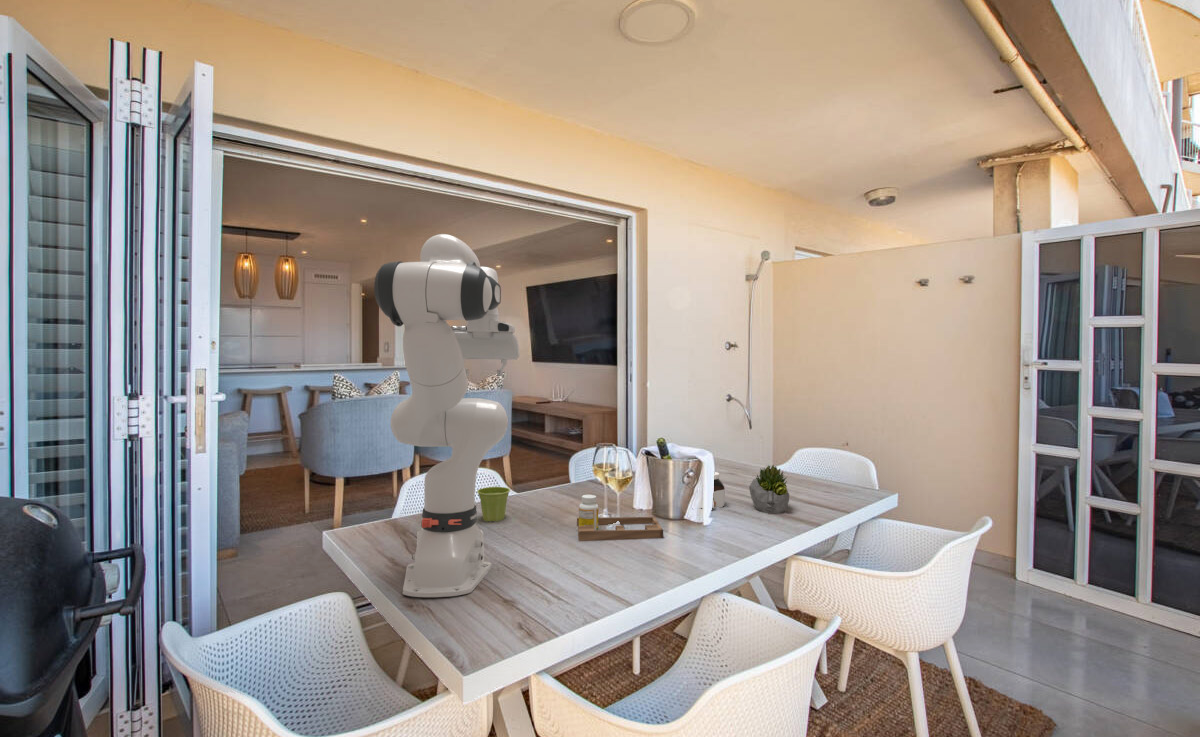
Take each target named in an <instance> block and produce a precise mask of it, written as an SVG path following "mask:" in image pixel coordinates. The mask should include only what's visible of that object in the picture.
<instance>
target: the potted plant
mask: <svg viewBox="0 0 1200 737" xmlns="http://www.w3.org/2000/svg"><path fill="white" fill-rule="evenodd" d="M787 478H788V476H786V477H785V476H784V471H783V470H782V471H781V468H778V467H777V466H776V465H775V466H774V464H773V465H767V466H766V467H763V468H762V467H760V469H759V475H758V474H756V476H755V478H753V479H752V481H751V483H750V485H749V487H748V489H749V495H750V497H751V501H752V503H753V505H754V508H755V509H756V510H757V511H759V512H761V513H764V514H771V515H772V514H773V515H774V514H775V515H776V514H779V515H780V514H782V513H784V512H785V510H786V509H787V507H788V505H789V502H790V492H789V491H788V488H787V485H786V484H787V483H788V480H786V479H787Z"/></svg>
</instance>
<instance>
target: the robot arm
mask: <svg viewBox="0 0 1200 737" xmlns="http://www.w3.org/2000/svg"><path fill="white" fill-rule="evenodd" d="M419 255H420V258H419V259H420V261H408V262H407V261H405V262H403V261H402V260H397V261H391V262H390V261H389V262H386V263H384V264H382V265H381V266H380V267H379V269H378V270H377V273H376V274H375V278H374V284H373V285H374V288H373V289H374V298H375V302H376V303H377V305H378V307H379V309H380V310H381V311H382V313H383V314H384V315H385V316H386V317H387V318H389V320H390V321H391V323H392V324H393V325H395V326H396V327H402V326H404V332H403V337H402V350H403V357H404V358H403V359H404V365H405V368H406V371H407V374H408V379H409V382H410V386H411V390H412V391H411V392H412V394H411V395H410V396H409V397H408V398H406V399H404V400H402V401H401V402H399V403H398V404H397V405H396V406H395V408H394V410H393V412H392V414H391V417H390V429H391V432H392V434H393V436H394V438H395V439H396V440H397V441H398V442H399V443H401V444H404V445H409V446H414V447H421V448H423V447H424V448H425V447H426V448H427V447H430V448H431V447H432V448H433V447H435V448H437V447H438V448H439V447H441V448H442V447H444V448H445V447H449V448H452V450H451V456H450V457H449V458H447V459H444V460H442V461H441V462H439V463H437V464H435V465H433V466H431V468H429V470H428V471H427V472H426V474H425V476H424V482H423V483H424V487H423V488H424V497H423V498H424V499H423V500H424V503H423V504H424V506H423V508H422V513H421V519H420V520H421V522H420V523H421V525H420V526H421V528H420V530H419V531H417V532H416V550H415V553H413V554H412V555H411V559H412V561H414V562H413V563H409V564H408V565H406V570H405V575H404V579H403V581H404V582H403V586H402V595H404V596H408V597H415V598H416V597H417V598H444V597H445V598H447V597H457V596H461V595H462V596H463V595H466V594H467V595H468V594H470V593H472V592H473V591H474V590H475V588H477V586H478V585H479V584H480V583H481V581H482V580H483V579H484V578H485V577H486V576H487V574H488V573H489V571H490V570H491V569H492V563H491V562H489V561H486V560H485V552H484V550H485V549H484V531H483V530H482V529H481V528H479V526H478V525H477V520H478V518H477V517H478V511H477V506H476V505H475V503H476V501H475V500H476V499H475V498H476V497H475V496H476V481H477V474H478V470H479V467H480V464H481V462H482V461H483V459H484V457H485V456H486V455H487V453H489V451H490V450H491V449H492V448H493V447H495V445H497V444H498V443H499V442H500V441H502V440H503V438H504V437H505V435H506V433H507V431H508V425H509V419H508V414H507V411H506V409H505V408H504V406H503V405H502V404H501V403H500V402H499V401H496V400H495V401H494V400H491V399H485V398H481V397H480V398H478V397H473V398H471V397H470V398H469V397H464V396H465V395H466V393H467V390H468V387H469V384H468V376H469V375H470V374H469V372H470V371H469V369H466V367H465V362H466V360H500V364H502V365H501V366H500V368H499V369H497V370H496V376H497V377H503V375H504V374H503V370H504V369H505V367H506V366H507V361H508V360H513V361H514V360H516V361H517V360H518V359H519V357H520V346H519V340H518V337H517V336H516V334H515V331H516V328H515V326H514V325H513V324H511V323H507V322H506V321H500V314H499V313H500V312H499V310H498V309H499V308H498V307H499V305H500V304H501V302H502V300H501V298H502V295H501V294H502V292H501V291H502V288H501V285H500V284H499V279H498V277H499V276H498V272H497V271H496V270H495V269H494V268H492V267H489V266H481V263H480V260H479V259H478V256H477V255H476V253H475V252H474V250H473V249H472V248H471V247H470V246H469V245H468V244H467V243H466V242H464V241H463V240H461V239H460V238H458V237H456V236H454V235H451V234H446V233H440V234H436V235H433V236H431V237H429V238H428V239H427V240H426V241H425V242H424V244H423V245H422V248H421V249H420V254H419ZM459 320H465V321H466V325H459V326H457V325H451V326H450V324H449V323H448V322H447V321H459Z"/></svg>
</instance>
